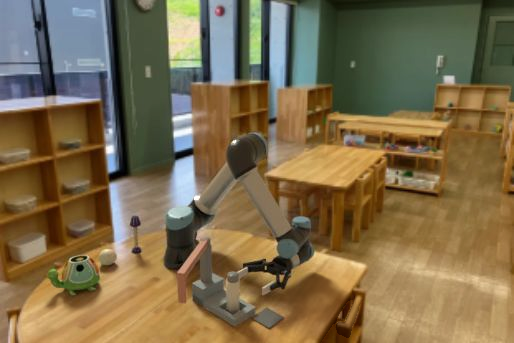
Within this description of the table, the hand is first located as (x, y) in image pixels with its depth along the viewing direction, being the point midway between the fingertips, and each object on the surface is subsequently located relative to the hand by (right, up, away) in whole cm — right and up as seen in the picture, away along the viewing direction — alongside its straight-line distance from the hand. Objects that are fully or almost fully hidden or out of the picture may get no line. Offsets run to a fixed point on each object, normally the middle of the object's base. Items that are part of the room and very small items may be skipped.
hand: (248, 284), depth 148 cm
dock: (-9, -8, +1) cm, 12 cm away
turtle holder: (-65, -5, +11) cm, 67 cm away
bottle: (-5, -9, -2) cm, 11 cm away
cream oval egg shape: (-60, +1, +29) cm, 66 cm away
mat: (+7, -10, -5) cm, 13 cm away
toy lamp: (-51, +4, +40) cm, 65 cm away
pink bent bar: (-18, +3, -7) cm, 19 cm away
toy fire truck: (-32, +7, +52) cm, 62 cm away
